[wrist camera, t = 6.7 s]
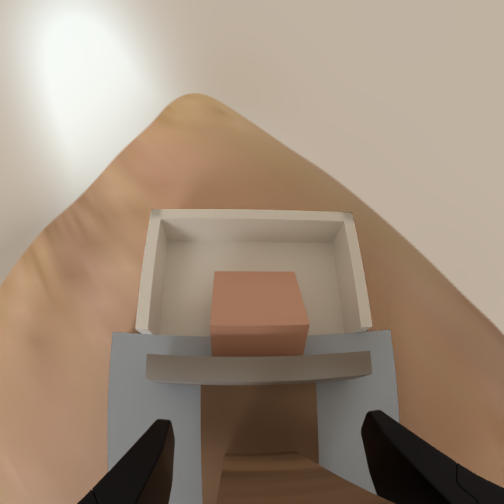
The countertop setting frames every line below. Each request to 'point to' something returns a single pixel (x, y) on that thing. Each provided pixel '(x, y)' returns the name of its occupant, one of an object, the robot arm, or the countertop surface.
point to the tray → (250, 265)
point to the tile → (257, 315)
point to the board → (189, 404)
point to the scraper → (264, 425)
